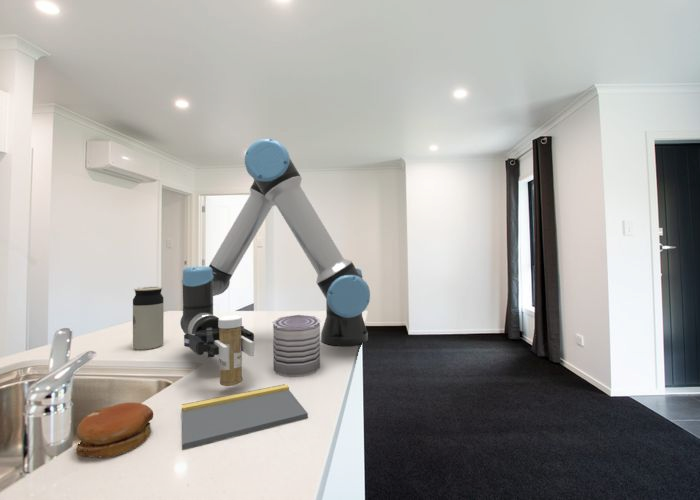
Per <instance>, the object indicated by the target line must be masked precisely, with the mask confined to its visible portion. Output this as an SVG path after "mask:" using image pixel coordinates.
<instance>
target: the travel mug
mask: <svg viewBox="0 0 700 500" xmlns="http://www.w3.org/2000/svg"><path fill="white" fill-rule="evenodd" d="M162 290H163V286H142V287H134V289H133V291H134V293H135V295H134V297H133V299H132V349H134V350H136V351H146V349H148V350H153V349H152V348H154V349H157V347H158V348H160V347H161V346H163V345H164V340H165V339H164V296H163V294H162Z"/></svg>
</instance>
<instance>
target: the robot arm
mask: <svg viewBox="0 0 700 500" xmlns="http://www.w3.org/2000/svg"><path fill="white" fill-rule="evenodd" d="M244 167H245V169H246V172H247V173H248V175H249V176H250V177H252V178H253V183H252V185H250V188H249V192H250V195H249V196H248V198H247V200H246V202H245V203H244V204H243V207H242V208H241V210H240V212H239V214H238V215H237V217H236V219H235V221H234V222H233V224H232V226H231V227H230V229H229V231H228V232H227V234H226V236H225V237H224V239H223V241H222V242H221V244H220V246H219V248H218V249H217V251H216V253H215V255H214V256H213V258H212V259H211V262H210V263H209V265H208V266H188V267H185V268H184V269H183V270H182V279H181V284H182V316H181V317H180V323H179V324H180V328H181V330H182V332H183V333H184V334H183V345H184V347H186V348H189V349H190V350H192V352H194V354H196V355H198V356H201V355H204V353H205V352H206V353H207V358H214V357H215V356H217V358H220V359H221V360H222V361H223V362H227V361H228V347H227V346H226V345H225V344H223V343H222V342H220V341H219V327H218V319H219V318H220V317H217V316H216V315H214V297H215V296H219V295H222V294H223V293H224V292H225V291H226V290H228V288H229V286H230V282H231V279H232V276H233V275H234V273H235V271H236V269H237V268H238V266H239V264H240V262H241V261H242V259H243V258H244V255H245V254H246V252H247V250H248V249H249V248H250V246H251V244H252V242H253V240H254V239H255V237H256V235H257V234H258V232H259V230H260V228H261V227H262V225H263V223H264V222H265V220H266V218H267V216H268V214H269V213H270V211H271V210H272V209H273V207H274V206H276V208H277V209H278V211H279V213H280V214H281V216H282V218H283V219H284V221H285V223H286V224H287V225H288V227H289V229H290V231H291V233H292V234H293V236H294V238H295V239H296V242H297V243H298V244H299V246H300V247H301V248H302V250H303V253H304V254H305V256H306V258H307V259H308V261H309V262H310V264H311V265H312V267H313V270H314V271H315V272H316V274H317V277H316V281H315V282H316V284H317V286H318V288H319V289H320V291H321V293H322V294H323V296H324V298H325V299H326V306H325V308H326V317H325V320H324V323H323V327H322V329H321V332H320V342H322V343H324V344H326V345H330V346H331V345H332V346H340V347H342V346H346V347H347V346H356V345H361V344H364V343H366V342H368V340H369V337H368V335H369V333H368V330H367V327H366V323H365V321H364V318H363V312H364V311H365V310H366V309H367V308H368V306H369V303H370V301H371V290H370V287H369V285H368V283H367V281H366V280H364V278H363V273H362V269H360V268H358V267H357V268H356V266H355V265H354V263H353V261H352V260H349V259H345V258H344V257H343V255H342V254H341V252H340V250H339V248H338V247H337V245H336V243H335V242H334V240H333V238H332V237H331V235H330V233H329V232H328V230H327V228H326V226H325V225H324V223H323V222H322V220H321V218H320V217H319V215H318V213H317V212H316V210H315V208H314V207H313V205H312V203H311V201H310V200H309V198H308V197H307V195H306V193H305V192H304V189H303V188H302V187H301V184H302V180H303V179H302V176H301V174H300V173H299V171H298V169H297V168H296V166H295V164H294V163H293V161H292V159H291V157H290V154H289V151H288V150H287V148H286V147H285V146H284V145H283V144H282V143H281V142H280V141H277V140H275V139H272V138H261V139H258V140H256V141H254V142H253V143H252V144H250V145H249V147H248V148H247V150H246V152H245V154H244ZM254 334H255V333H254V332H252V331H250V330H248V329H247V328H245V326H244V325H242V326H241V343H242V353H244V354H246V355H247V356H248V357H255V336H254Z"/></svg>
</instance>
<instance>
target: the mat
mask: <svg viewBox="0 0 700 500" xmlns="http://www.w3.org/2000/svg"><path fill="white" fill-rule="evenodd" d="M308 415H309V412H308V411H306V410H305V408H304V407H303V405H302V404H301V403H300V402H299V400H298V399H297V398H296V397H295V396H294V394H293V393H292V392H291V391H290V386H289V385H288V384H287V383H286V384H285V383H283V384H279V385H273V386H268V387H262V388H258V389H253V390H247V391H244V392H238V393H232V394H228V395H223V396H218V397H213V398H208V399H203V400H197V401H192V402H187V403H182V404H181V428H182V429H181V431H182V432H181V433H182V434H181V436H182V438H181V439H182V441H181V443H182V444H181V445H182V450H186V449H187V450H188V449H191V448H193V447H194V448H195V447H199V446H202V445H206V444H207V445H208V444H211V443H215V442H218V441H223V440H226V439H230V438H233V437H239V436H241V435H246V434H250V433H253V432H258V431H261V430H267V429H270V428H272V427H276V426H282V425H284V424H285V425H286V424H289V423H294V422H297V421H301V420H305V419H309V418H308V417H309V416H308Z"/></svg>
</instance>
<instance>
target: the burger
mask: <svg viewBox="0 0 700 500" xmlns="http://www.w3.org/2000/svg"><path fill="white" fill-rule="evenodd" d="M153 418H154V411H153V409H152V408H151V407H149V406H148V405H146V404H144V403H140V402H123V403H118V404H114V405H112V406H108V407H104V408H100V409H97V410H93V411H92V412H91V413H90V414H87V415H86V416H85V417H83V418H82V420H81V421H80V422H79V424H78V425H77V427H76V436H77V438H78V439H79V440H80V442H78V443H77V444H78V445H77V444H76V449H75V450H76V451H75V453H76V455H77V456H79V457H81V458H83V457H84V458H86V457H91V458H95V459H99V458H102V459H103V458H106V457H107V458H109V457H110V458H111V457H115V456H119V455H122V454H125V453H126V452H129V451H132V450H133V449H136V448H137V447H139V446H140V445H142V444H143V443H144V442H145V441H146V440H148V438H150V435H151V433H152V432H151V431H152V429H151V422H150V421H152V420H153ZM79 443H80V444H79Z"/></svg>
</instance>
